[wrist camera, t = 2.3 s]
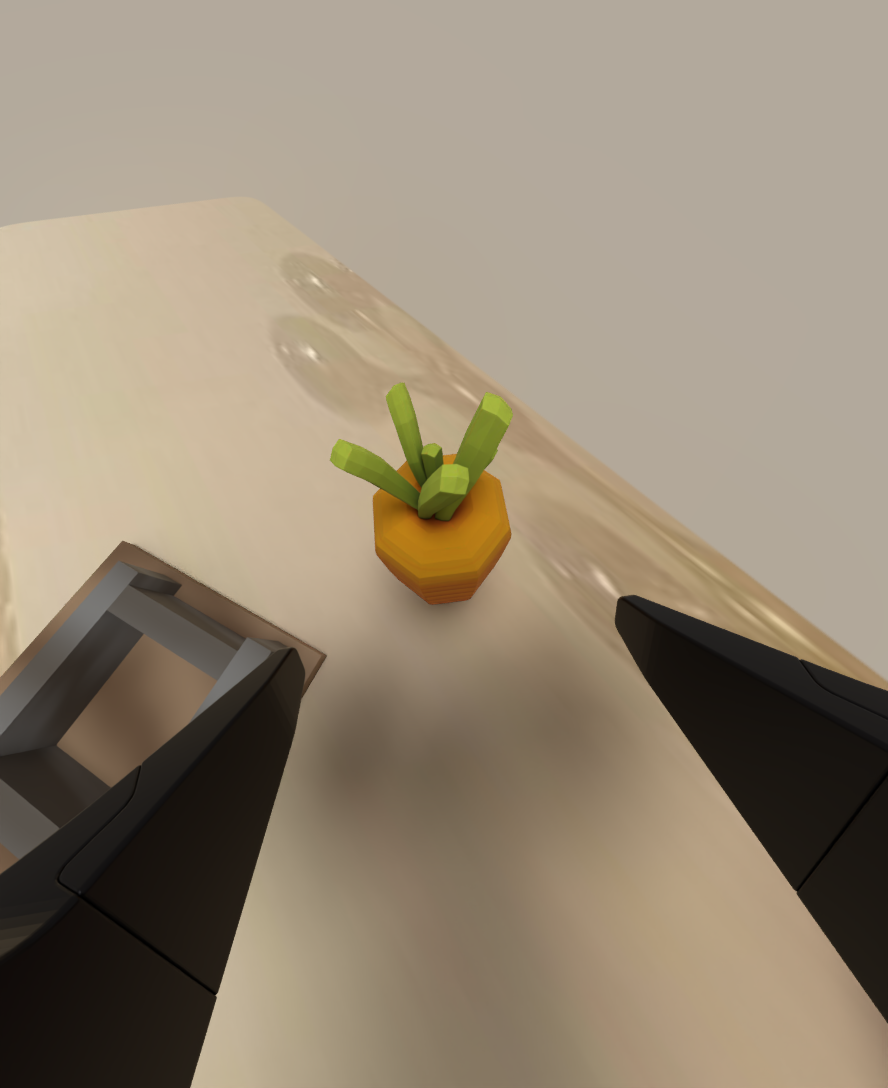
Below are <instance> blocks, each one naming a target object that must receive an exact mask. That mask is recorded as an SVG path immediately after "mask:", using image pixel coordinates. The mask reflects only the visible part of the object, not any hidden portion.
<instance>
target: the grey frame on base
mask: <svg viewBox="0 0 888 1088" xmlns="http://www.w3.org/2000/svg"><path fill="white" fill-rule="evenodd" d="M287 647H295V648H296V649H297V651H298V653H299V656H300V658H301V661H302V663H303V666H304V668H305V682H304V687H303V692H302V697H303V695H304V693H305V692H306V690H307V688H308V686H309V685H310V683H311V681H312V680H313V678H314V676H315V675H316V673H317V671H318V670H319V668H320V666H321V664H322V663H323V661H324V659H325V658H326V655H325V654H323V653H321V652H319V651H318V650H316V649H314V648H312V647H311V646H309V645H307V644H305V643H304V642H302V641H300V640H299V639H297V638H295V637H293V636H292V635H290V634H288V633H286V632H285V631H283V630H281V629H279V628H278V627H276V626H274V625H272V624H271V623H269V622H267V621H265V620H264V619H262V618H260V617H258V616H257V615H255V614H253V613H251V612H250V611H248V610H246V609H245V608H243V607H241V606H239V605H238V604H236V603H234V602H232V601H231V600H229V599H227V598H225V597H224V596H222V595H220V594H218V593H217V592H215V591H213V590H211V589H210V588H208V587H206V586H204V585H203V584H201V583H199V582H197V581H196V580H194V579H192V578H190V577H189V576H187V575H185V574H184V573H182V572H180V571H178V570H177V569H175V568H173V567H171V566H170V565H168V564H166V563H164V562H163V561H161V560H159V559H157V558H156V557H154V556H152V555H150V554H149V553H147V552H145V551H143V550H142V549H140V548H138V547H136V546H135V545H133V544H130V543H127V542H125V541H122V542H121V543H120V544H119V545H118V546H117V548H116V549H115V550H114V551H113V552H112V553H111V554H110V555H109V556H108V558H107V559H106V560H105V561H104V562H103V563H102V564H101V565H100V567H99V568H98V569H97V570H96V571H95V572H94V573H93V574H92V576H91V577H90V578H89V579H88V580H87V581H86V582H85V583H84V584H83V586H82V587H81V588H80V589H79V590H78V591H77V592H76V593H75V595H74V596H73V597H72V598H71V599H70V600H69V601H68V602H67V604H66V605H65V606H64V607H63V608H62V609H61V610H60V611H59V613H58V614H57V615H56V616H55V617H54V618H53V619H52V620H51V621H50V623H49V624H48V625H47V626H46V627H45V628H44V629H43V630H42V632H41V633H40V634H39V635H38V636H37V637H36V638H35V639H34V641H33V642H32V643H31V644H30V645H29V646H28V647H27V648H26V649H25V651H24V652H23V653H22V654H21V655H20V656H19V657H18V658H17V660H16V661H15V662H14V663H13V664H12V665H11V666H10V667H9V669H8V670H7V671H6V672H5V673H4V674H3V675H2V676H1V677H0V874H1V873H2V872H3V871H5V870H6V869H7V868H9V867H10V866H11V865H13V864H14V863H15V862H17V861H18V860H19V859H20V858H22V857H23V856H24V855H26V854H27V853H28V852H30V851H31V850H32V849H34V848H35V847H36V846H38V845H39V844H40V843H41V842H43V841H44V840H45V839H47V838H48V837H49V836H51V835H52V834H53V833H54V832H56V831H57V830H58V829H60V828H61V827H62V826H64V825H65V824H66V823H67V822H69V821H70V820H71V819H73V818H74V817H75V816H76V815H78V814H79V813H80V812H82V811H83V810H84V809H85V808H87V807H88V806H89V805H90V804H92V803H93V802H94V801H95V800H97V799H98V798H99V797H100V796H102V795H103V794H104V793H105V792H106V791H108V790H109V789H110V788H111V787H113V786H114V785H115V784H116V783H118V782H119V781H120V780H121V779H122V778H124V777H125V776H126V775H127V774H128V773H130V772H131V771H132V770H133V769H134V768H136V767H137V766H138V765H141V764H142V762H143V761H144V760H145V759H147V758H148V757H149V756H150V755H151V754H153V753H154V752H155V751H156V750H157V749H159V748H160V747H161V746H162V745H163V744H165V743H166V742H167V741H168V740H169V739H171V738H172V737H173V736H174V735H175V734H177V733H178V732H179V731H180V730H182V729H183V728H184V727H185V726H186V725H188V724H189V723H190V722H191V721H192V720H194V719H195V718H196V717H197V716H198V715H200V714H201V713H202V712H203V711H204V710H206V709H207V708H208V707H209V706H210V705H212V704H213V703H214V702H215V701H216V700H218V699H219V698H220V697H221V696H223V695H224V694H225V693H226V692H227V691H229V690H230V689H231V688H232V687H233V686H235V685H236V684H237V683H238V682H239V681H241V680H242V679H243V678H244V677H245V676H247V675H248V674H249V673H250V672H251V671H253V670H254V669H255V668H256V667H257V666H259V665H260V664H261V663H262V662H263V661H265V660H266V659H267V658H268V657H269V656H271V655H272V654H273V653H274V652H276V651H277V650H278V649H281V648H287Z"/></svg>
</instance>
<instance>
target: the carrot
mask: <svg viewBox="0 0 888 1088" xmlns="http://www.w3.org/2000/svg"><path fill="white" fill-rule="evenodd" d="M386 400H387V404H388V407H389V411H390V413H391V416H392V419H393V422H394V424H395V427H396V430H397V433H398V436H399V439H400V442H401V445H402V448H403V451H404V454H405V457H406V459H407V461H406V462H405V463H404V464H403V465H402V466H401V467H400V468H399V469H398V470H397V471H396V470H394V469H393V468H392V467H391V466H390V465H389V464H388V463H386V462H385V461H384V460H383V459H382V458H381V457H379V456H377V455H375V454H373V453H372V452H370V451H368V450H366V449H365V448H363V447H360V446H358V445H355V444H352V443H349V442H347V441H344V440H341V439H339V440H338V441H337V443H336V444H335V446H334V447H333V449H332V454H331V458H330V461H331V462H332V463H333V464H334V465H335V466H336V467H338V468H340V469H342V470H344V471H346V472H347V473H350V474H352V475H355V476H357V477H359V478H362V479H364V480H366V481H368V482H370V483H372V484H373V485H375V486H377V487H379V488H380V489H379V490H378V491H377V492H376V493H375V494H374V495H373V514H374V533H375V551H376V554H377V556H378V557H379V558H380V559H381V561H382V562H383V563H384V564H385V566H386V567H387V568H388V569H389V570H390V571H391V572H392V573H393V574H394V576H395V577H396V578H397V579H398V580H400V581H401V582H402V583H403V584H405V585H406V586H407V587H408V588H410V589H411V590H412V591H413V592H415V593H416V594H417V595H419V596H420V597H421V598H422V599H424V600H425V601H426V602H427V603H429V604H441V603H449V602H457V601H464V600H468V599H470V598H471V597H472V596H473V594H474V593H475V592H476V590H477V589H478V588H479V586H480V585H481V584H482V582H483V581H484V580H485V578H486V577H487V576H488V574H489V573H490V572H491V570H492V569H493V568H494V566H495V565H496V563H497V562H498V560H499V558H500V557H501V555H502V554H503V552H504V550H505V548H506V546H507V544H508V542H509V540H510V539H511V529H510V525H509V520H508V515H507V511H506V506H505V501H504V496H503V492H502V487H501V483H500V480H499V479H497V478H495V477H494V476H492V475H491V474H489V473H487V472H486V471H484V469H485V468H486V467H487V466H488V465H489V464H490V462H491V461H492V460H493V459H494V457H495V455H496V453H497V451H498V450H497V447H498V445H499V443H500V441H501V439H502V437H503V436H504V434H505V432H506V430H507V428H508V426H509V424H510V421H511V419H512V416H513V414H512V409H511V408H510V407H509V406H508V404H507V403H506V402H505V401H504V400H503V399H502V398H501V397H500V396H497V395H494V394H491V393H488V392H486V393H485V395H484V397H483V399H482V401H481V403H480V405H479V407H478V409H477V411H476V413H475V415H474V417H473V419H472V421H471V423H470V425H469V427H468V429H467V431H466V433H465V436H464V438H463V441H462V443H461V446H460V448H459V450H458V453H457V454H452V455H443V454H442V447H440V446H439V445H437V444H436V443H433V444H428V445H426V446H424V447H423V445H422V441H421V436H420V432H419V427H418V423H417V419H416V414H415V411H414V408H413V405H412V402H411V398H410V396H409V393H408V391H407V388H406V386H405V383H399V384H397V385H394V386H393V387H392V389H391V390H390V391H389V393H388V394H387V396H386Z"/></svg>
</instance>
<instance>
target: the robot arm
mask: <svg viewBox="0 0 888 1088" xmlns="http://www.w3.org/2000/svg"><path fill="white" fill-rule="evenodd" d="M615 625H616V628H617V630H618V632H619V634H620V635H621V637H622V639H623V641H624V643H625V644H626V646H627V648H628V650H629V651H630V653H631V655H632V657H633V659H634V660H635V662H636V664H637V666H638V667H639V669H640V671H641V672H642V674H643V676H644V677H645V679H646V680H647V682H648V683H649V685H650V686H651V688H652V689H653V691H654V692H655V693H656V695H657V696H658V698H659V699H660V701H661V702H662V703H663V705H664V706H665V708H666V709H667V710H668V712H669V713H670V715H671V716H672V718H673V719H674V720H675V722H676V723H677V725H678V726H679V727H680V729H681V730H682V732H683V733H684V735H685V736H686V737H687V739H688V740H689V742H690V743H691V744H692V746H693V747H694V749H695V750H696V752H697V753H698V754H699V756H700V757H701V759H702V760H703V762H704V763H705V764H706V766H707V767H708V769H709V770H710V771H711V773H712V774H713V776H714V777H715V779H716V780H717V781H718V783H719V784H720V786H721V787H722V788H723V790H724V791H725V793H726V794H727V796H728V797H729V798H730V800H731V801H732V803H733V804H734V805H735V807H736V808H737V810H738V811H739V813H740V814H741V815H742V817H743V818H744V820H745V821H746V822H747V824H748V825H749V827H750V828H751V830H752V831H753V832H754V834H755V835H756V837H757V838H758V840H759V841H760V842H761V844H762V845H763V847H764V848H765V849H766V851H767V852H768V854H769V855H770V857H771V858H772V859H773V861H774V862H775V864H776V865H777V866H778V868H779V869H780V871H781V872H782V874H783V875H784V876H785V878H786V879H787V881H788V882H789V883H790V885H791V886H792V888H793V889H794V890H795V891H797V895H798V897H799V898H800V900H801V901H802V902H803V904H804V905H805V907H806V908H807V910H808V911H809V912H810V914H811V915H812V917H813V918H814V919H815V921H816V922H817V924H818V925H819V927H820V928H821V929H822V931H823V932H824V934H825V935H826V936H827V938H828V939H829V941H830V942H831V944H832V945H833V946H834V948H835V949H836V951H837V952H838V953H839V955H840V956H841V958H842V959H843V961H844V962H845V963H846V965H847V966H848V968H849V969H850V970H851V972H852V973H853V975H854V976H855V978H856V979H857V980H858V982H859V983H860V985H861V986H862V987H863V989H864V990H865V992H866V993H867V995H868V996H869V997H870V999H871V1000H872V1002H873V1003H874V1005H875V1006H876V1007H877V1009H878V1010H879V1012H880V1013H881V1014H882V1016H883V1017H884V1019H885V1020H886V1022H887V1023H888V691H886V690H883V689H881V688H878V687H875V686H872V685H869V684H866V683H863V682H861V681H858V680H855V679H853V678H850V677H847V676H845V675H842V674H839V673H837V672H834V671H831V670H828V669H826V668H823V667H821V666H818V665H815V664H813V663H810V662H808V661H805V660H802V659H801V660H799V659H798V658H797V657H795V656H792V655H789V654H787V653H784V652H782V651H779V650H777V649H774V648H771V647H769V646H766V645H764V644H761V643H758V642H756V641H753V640H751V639H748V638H745V637H743V636H740V635H738V634H735V633H732V632H730V631H727V630H725V629H722V628H719V627H717V626H714V625H712V624H709V623H706V622H704V621H701V620H699V619H696V618H694V617H691V616H688V615H686V614H683V613H681V612H678V611H675V610H673V609H670V608H668V607H665V606H662V605H660V604H657V603H655V602H652V601H649V600H647V599H644V598H642V597H639V596H636V595H628V596H622V597H620V598H619V599H618V601H617V607H616V615H615ZM304 682H305V668H304V666H303V663H302V661H301V658H300V656H299V653H298V651H297V649H296V648H295V647H287V648H281V649H278V650H277V651H276V652H274V653H273V654H272V655H271V656H269V657H268V658H267V659H266V660H265V661H263V662H262V663H261V664H260V665H259V666H257V667H256V668H255V669H254V670H253V671H251V672H250V673H249V674H248V675H247V676H245V677H244V678H243V679H242V680H241V681H239V682H238V683H237V684H236V685H235V686H233V687H232V688H231V689H230V690H229V691H227V692H226V693H225V694H224V695H223V696H221V697H220V698H219V699H218V700H216V701H215V702H214V703H213V704H212V705H210V706H209V707H208V708H207V709H206V710H204V711H203V712H202V713H201V714H200V715H198V716H197V717H196V718H195V719H194V720H192V721H191V722H190V723H189V724H188V725H186V726H185V727H184V728H183V729H182V730H180V731H179V732H178V733H177V734H175V735H174V736H173V737H172V738H171V739H169V740H168V741H167V742H166V743H165V744H163V745H162V746H161V747H160V748H159V749H157V750H156V751H155V752H154V753H153V754H151V755H150V756H149V757H148V758H147V759H145V760H144V761H143V762H142V764H141V765H138V766H137V767H136V768H134V769H133V770H132V771H131V772H130V773H128V774H127V775H126V776H125V777H124V778H122V779H121V780H120V781H119V782H118V783H116V784H115V785H114V786H113V787H111V788H110V789H109V790H108V791H106V792H105V793H104V794H103V795H102V796H100V797H99V798H98V799H97V800H95V801H94V802H93V803H92V804H90V805H89V806H88V807H87V808H85V809H84V810H83V811H82V812H80V813H79V814H78V815H76V816H75V817H74V818H73V819H71V820H70V821H69V822H67V823H66V824H65V825H64V826H62V827H61V828H60V829H58V830H57V831H56V832H54V833H53V834H52V835H51V836H49V837H48V838H47V839H45V840H44V841H43V842H41V843H40V844H39V845H38V846H36V847H35V848H34V849H32V850H31V851H30V852H28V853H27V854H26V855H24V856H23V857H22V858H20V859H19V860H18V861H17V862H15V863H14V864H13V865H11V866H10V867H9V868H7V869H6V870H5V871H3V872H2V873H1V874H0V1088H190V1087H191V1083H192V1080H193V1077H194V1073H195V1070H196V1066H197V1063H198V1060H199V1056H200V1053H201V1050H202V1046H203V1043H204V1039H205V1036H206V1033H207V1029H208V1026H209V1023H210V1019H211V1016H212V1012H213V1009H214V1006H215V1002H216V999H217V997H216V994H217V993H218V991H219V988H220V984H221V981H222V978H223V974H224V971H225V967H226V964H227V961H228V957H229V954H230V951H231V947H232V944H233V940H234V937H235V934H236V930H237V927H238V924H239V920H240V917H241V913H242V910H243V907H244V903H245V900H246V897H247V893H248V890H249V886H250V883H251V880H252V876H253V873H254V870H255V866H256V863H257V859H258V856H259V853H260V849H261V846H262V843H263V839H264V836H265V832H266V829H267V826H268V822H269V819H270V816H271V812H272V809H273V805H274V802H275V799H276V795H277V792H278V788H279V785H280V782H281V778H282V775H283V772H284V768H285V765H286V761H287V758H288V755H289V751H290V748H291V745H292V741H293V737H294V734H295V729H296V724H297V719H298V714H299V708H300V703H301V698H302V692H303V687H304Z"/></svg>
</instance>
